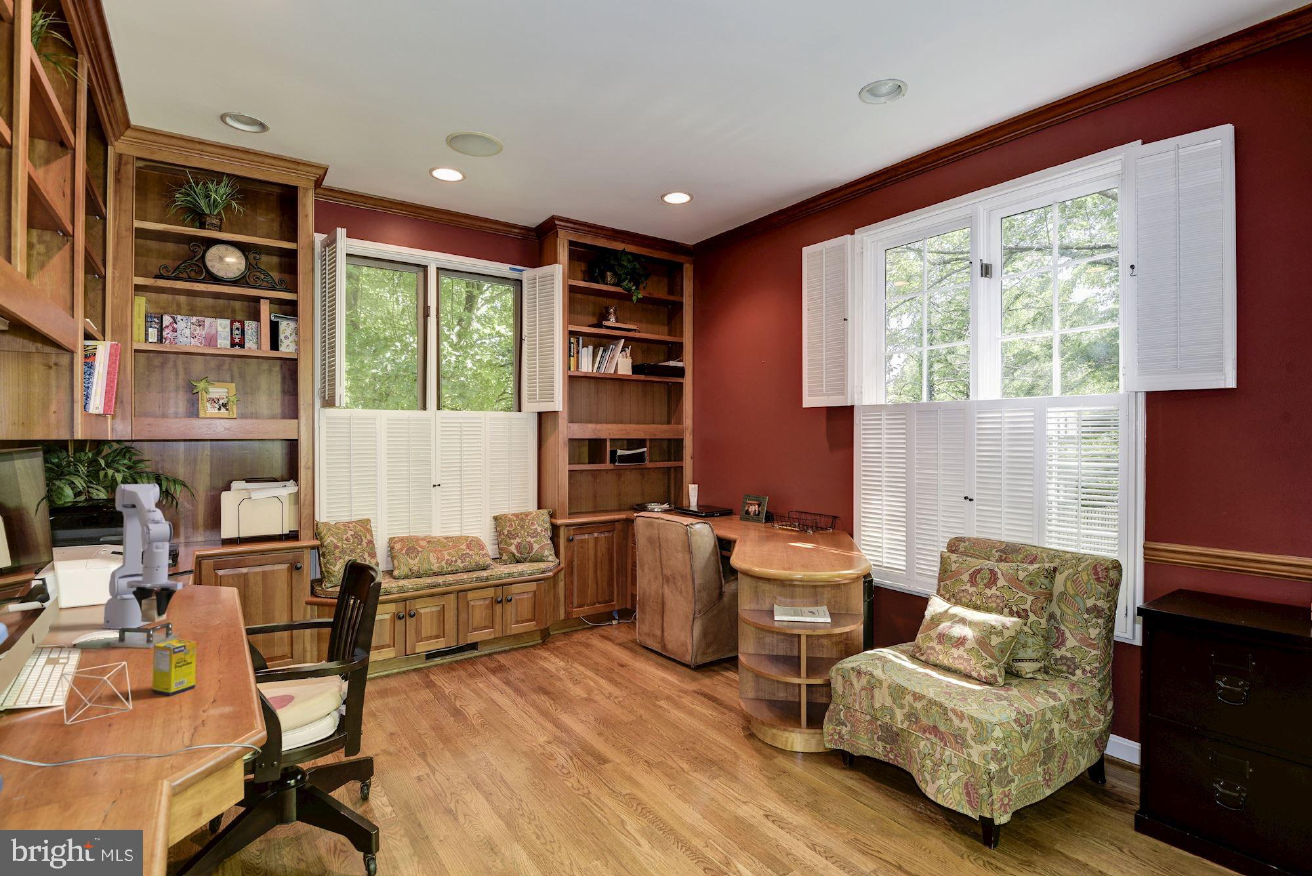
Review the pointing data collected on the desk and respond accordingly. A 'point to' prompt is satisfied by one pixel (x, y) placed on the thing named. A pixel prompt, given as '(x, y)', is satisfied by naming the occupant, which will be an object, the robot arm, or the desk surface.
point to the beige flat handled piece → (144, 637)
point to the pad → (100, 642)
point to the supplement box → (174, 666)
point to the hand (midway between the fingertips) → (153, 614)
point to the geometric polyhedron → (94, 690)
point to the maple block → (150, 611)
